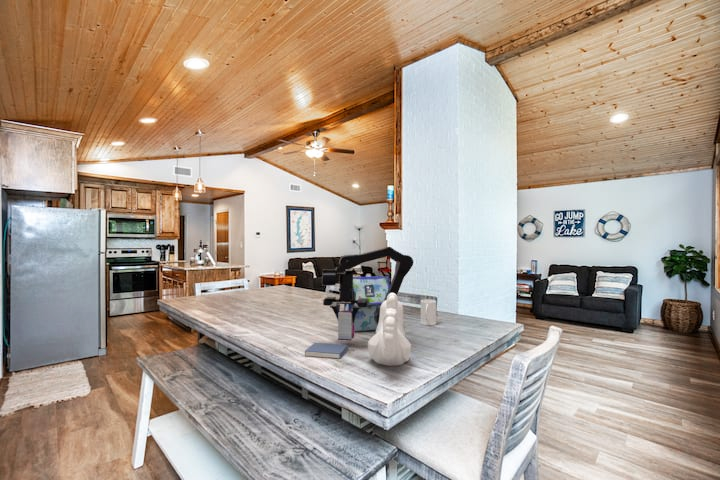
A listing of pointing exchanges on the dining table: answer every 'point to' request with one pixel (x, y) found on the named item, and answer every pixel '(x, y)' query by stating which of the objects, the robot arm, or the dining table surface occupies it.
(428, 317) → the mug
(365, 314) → the lunch bag
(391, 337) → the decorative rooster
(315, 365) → the dining table surface
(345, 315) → the supplement box
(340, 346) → the notebook
